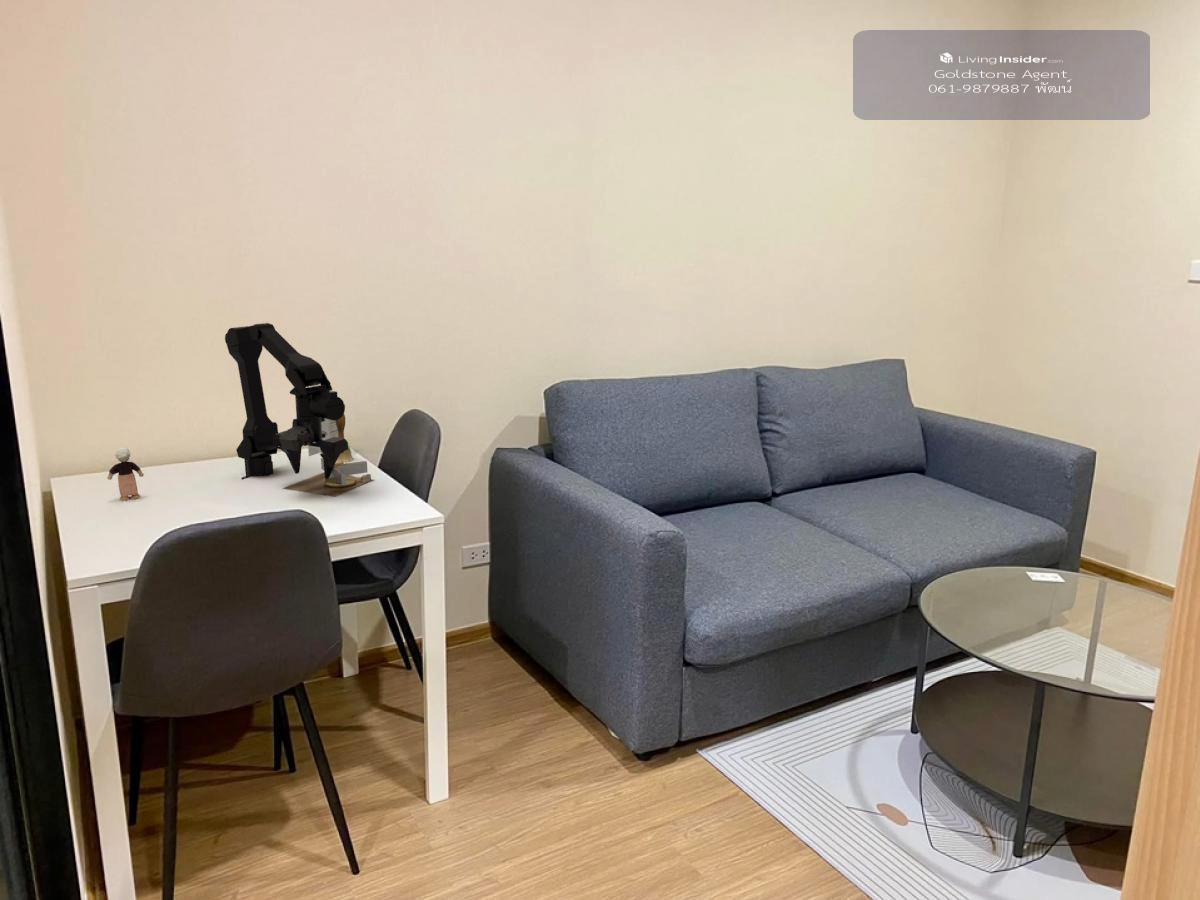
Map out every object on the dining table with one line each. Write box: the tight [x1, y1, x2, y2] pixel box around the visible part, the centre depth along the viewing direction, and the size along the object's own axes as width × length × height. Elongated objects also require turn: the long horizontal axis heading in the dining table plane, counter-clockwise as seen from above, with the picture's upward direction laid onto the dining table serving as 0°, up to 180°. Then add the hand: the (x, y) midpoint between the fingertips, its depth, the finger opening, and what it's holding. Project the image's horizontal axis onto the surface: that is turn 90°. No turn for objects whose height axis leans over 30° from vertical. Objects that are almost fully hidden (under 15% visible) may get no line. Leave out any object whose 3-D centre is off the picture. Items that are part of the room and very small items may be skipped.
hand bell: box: [336, 413, 355, 464], centre depth 254 cm, size 8×8×16 cm
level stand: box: [282, 472, 375, 498], centre depth 233 cm, size 16×16×3 cm
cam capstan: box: [320, 457, 369, 487], centre depth 234 cm, size 11×17×5 cm, turn 32°
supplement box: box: [307, 419, 338, 457], centre depth 265 cm, size 7×7×13 cm
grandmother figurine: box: [107, 447, 144, 501], centre depth 222 cm, size 8×4×13 cm, turn 134°
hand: (312, 475), depth 229 cm, fingers open, 9 cm apart
